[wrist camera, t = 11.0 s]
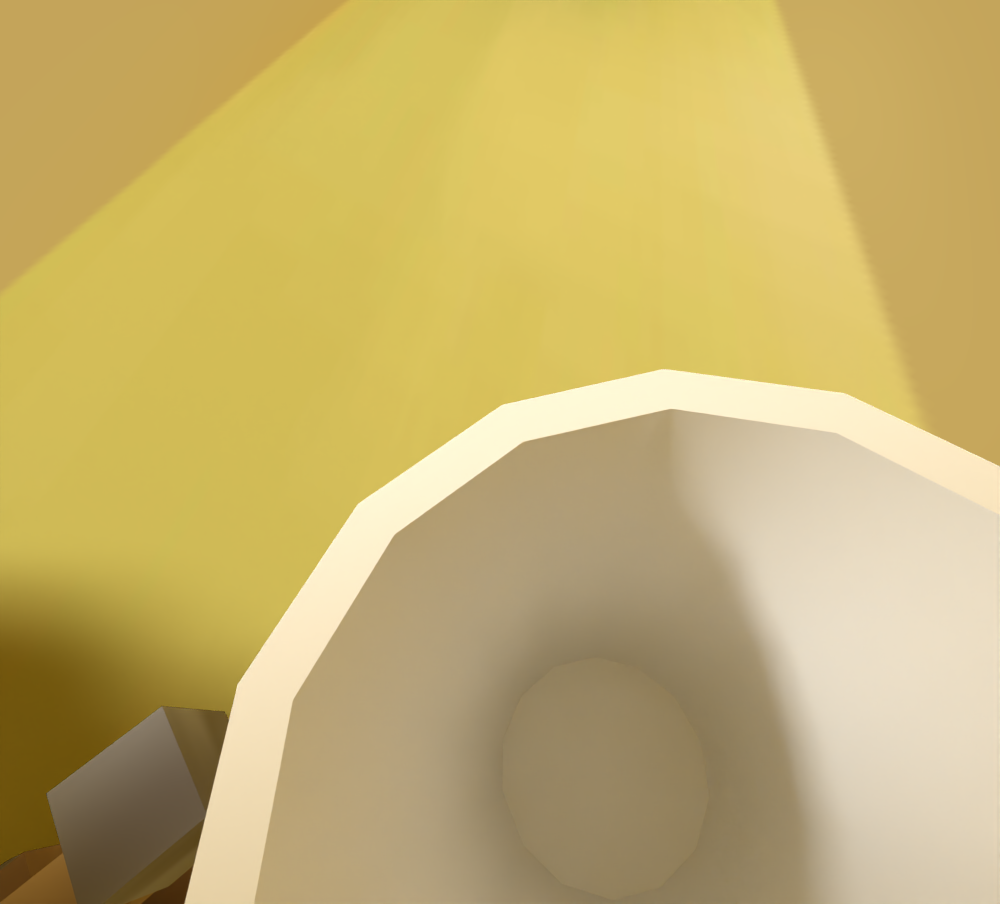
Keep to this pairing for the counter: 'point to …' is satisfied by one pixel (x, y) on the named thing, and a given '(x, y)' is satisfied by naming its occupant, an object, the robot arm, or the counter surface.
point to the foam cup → (635, 668)
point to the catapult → (127, 818)
